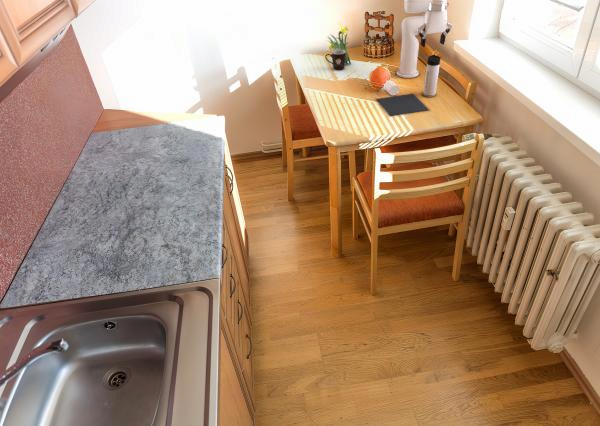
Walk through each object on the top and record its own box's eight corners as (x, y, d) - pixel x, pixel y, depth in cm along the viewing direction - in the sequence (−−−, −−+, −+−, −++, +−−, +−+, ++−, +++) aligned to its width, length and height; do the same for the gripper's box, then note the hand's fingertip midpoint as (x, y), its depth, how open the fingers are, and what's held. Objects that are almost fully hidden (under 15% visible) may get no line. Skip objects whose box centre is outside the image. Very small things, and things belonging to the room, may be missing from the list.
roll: (390, 86, 248) (391, 76, 244) (399, 94, 239) (400, 84, 235) (380, 87, 247) (380, 77, 243) (388, 96, 238) (389, 86, 234)
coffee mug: (348, 67, 274) (348, 50, 267) (341, 71, 268) (341, 55, 262) (331, 64, 279) (331, 48, 273) (324, 68, 273) (324, 52, 267)
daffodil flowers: (327, 68, 276) (320, 36, 296) (346, 77, 283) (338, 45, 303) (343, 46, 265) (334, 14, 285) (362, 56, 272) (352, 24, 292)
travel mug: (434, 91, 239) (439, 54, 226) (436, 97, 234) (441, 59, 221) (422, 92, 239) (427, 54, 227) (424, 97, 234) (428, 59, 222)
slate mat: (376, 99, 235) (376, 98, 235) (412, 94, 238) (412, 93, 238) (390, 115, 220) (390, 115, 220) (428, 110, 222) (428, 109, 222)
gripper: (451, 2, 206) (445, 40, 217) (415, 7, 203) (412, 45, 214) (459, 6, 200) (453, 45, 211) (422, 11, 198) (418, 50, 208)
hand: (432, 45), depth 213 cm, fingers open, 9 cm apart
